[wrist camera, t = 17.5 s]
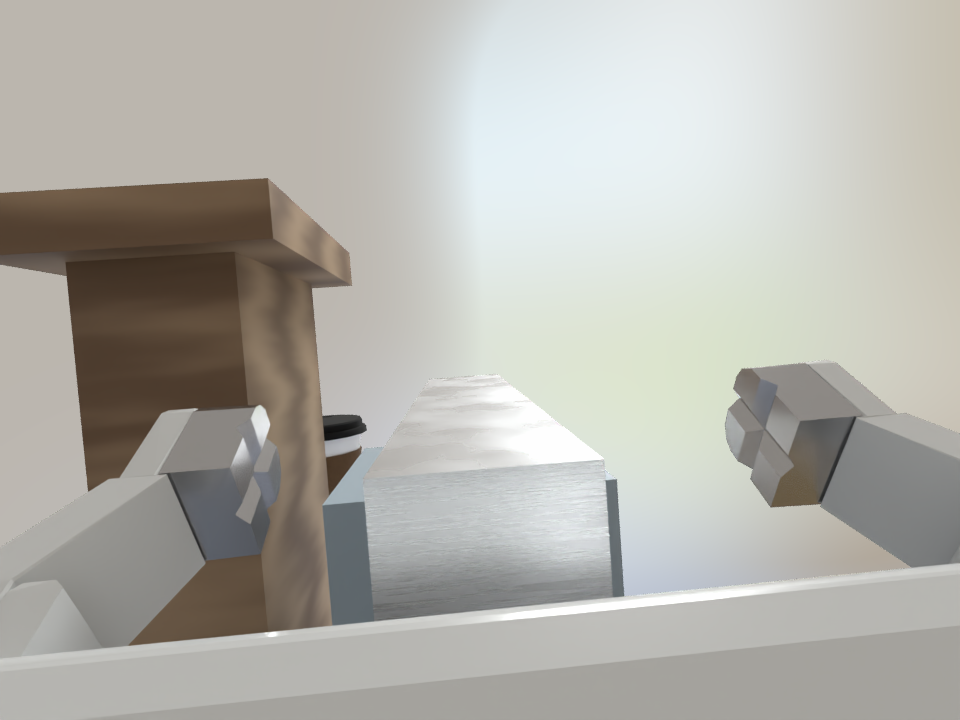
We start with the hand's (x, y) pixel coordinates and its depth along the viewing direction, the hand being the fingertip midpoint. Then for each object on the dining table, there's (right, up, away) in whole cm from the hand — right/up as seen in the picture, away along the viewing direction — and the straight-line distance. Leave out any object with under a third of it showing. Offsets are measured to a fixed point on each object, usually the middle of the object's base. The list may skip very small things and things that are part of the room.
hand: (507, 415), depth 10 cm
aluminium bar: (-1, -3, +12) cm, 12 cm away
